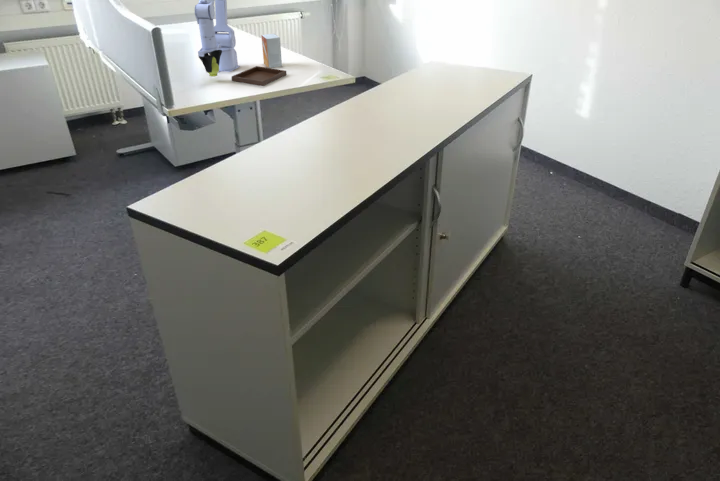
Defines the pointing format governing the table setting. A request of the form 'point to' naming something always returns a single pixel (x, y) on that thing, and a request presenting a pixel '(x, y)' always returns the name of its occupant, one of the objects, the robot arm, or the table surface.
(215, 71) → the pear
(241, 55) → the table surface
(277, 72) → the tray
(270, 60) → the small box
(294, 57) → the table surface
